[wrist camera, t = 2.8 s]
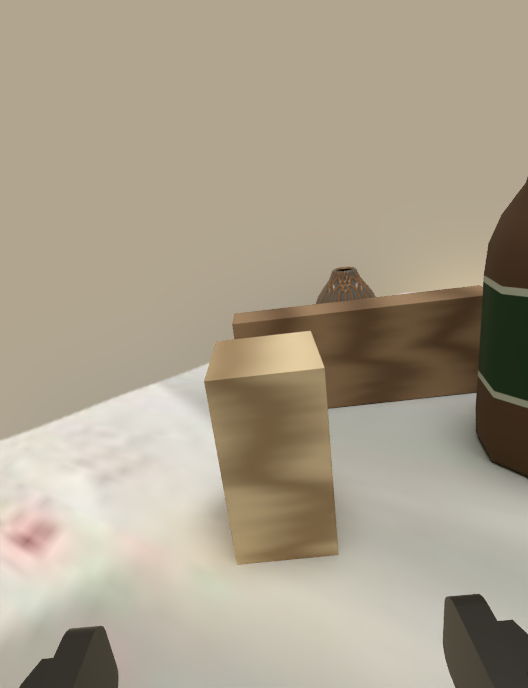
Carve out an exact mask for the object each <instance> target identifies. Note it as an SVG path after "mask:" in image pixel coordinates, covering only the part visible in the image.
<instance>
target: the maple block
mask: <svg viewBox="0 0 528 688" xmlns="http://www.w3.org/2000/svg"><path fill="white" fill-rule="evenodd" d="M204 383H205V388H206V394H207V399H208V405H209V411H210V416H211V422H212V427H213V433H214V438H215V444H216V449H217V455H218V460H219V466H220V471H221V477H222V482H223V488H224V493H225V499H226V504H227V510H228V516H229V521H230V527H231V532H232V538H233V543H234V549H235V554H236V560H237V565H238V564H248V563H259V562H269V561H279V560H289V559H299V558H310V557H320V556H330V555H338V542H337V529H336V515H335V502H334V488H333V475H332V461H331V447H330V434H329V420H328V407H327V393H326V380H325V368H324V365H323V362H322V360H321V357H320V354H319V352H318V349H317V346H316V344H315V341H314V338H313V336H312V333H311V331H304V332H295V333H286V334H278V335H269V336H260V337H251V338H243V339H234V340H225V341H217V342H216V344H215V347H214V350H213V354H212V357H211V360H210V364H209V367H208V370H207V374H206V377H205V380H204Z"/></svg>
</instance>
